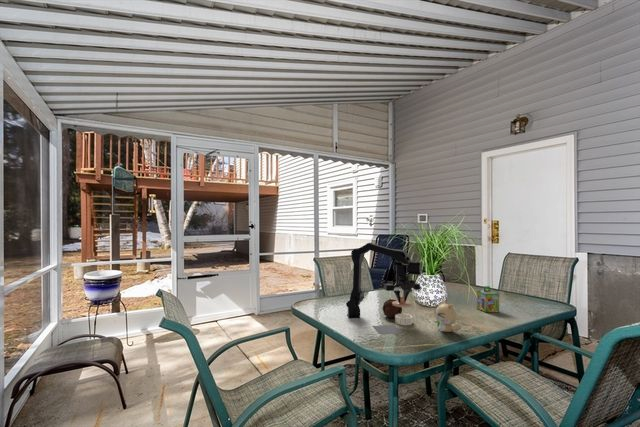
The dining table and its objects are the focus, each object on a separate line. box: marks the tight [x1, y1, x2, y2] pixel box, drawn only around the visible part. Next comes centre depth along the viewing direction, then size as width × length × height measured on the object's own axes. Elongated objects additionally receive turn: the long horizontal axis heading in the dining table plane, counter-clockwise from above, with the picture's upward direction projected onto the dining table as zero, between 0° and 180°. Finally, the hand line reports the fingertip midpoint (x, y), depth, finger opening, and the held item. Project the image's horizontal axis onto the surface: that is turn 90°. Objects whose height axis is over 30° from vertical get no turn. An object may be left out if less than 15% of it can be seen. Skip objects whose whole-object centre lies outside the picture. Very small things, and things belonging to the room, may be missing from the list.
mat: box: [372, 324, 404, 335], centre depth 159 cm, size 12×12×1 cm
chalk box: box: [476, 285, 500, 313], centre depth 193 cm, size 9×9×15 cm
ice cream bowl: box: [382, 299, 403, 319], centre depth 180 cm, size 11×11×15 cm
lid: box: [392, 295, 413, 308], centre depth 168 cm, size 10×10×4 cm
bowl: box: [394, 312, 414, 326], centre depth 170 cm, size 9×9×4 cm
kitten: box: [434, 298, 462, 333], centre depth 158 cm, size 15×10×15 cm, turn 4°
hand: (401, 302), depth 168 cm, fingers closed on lid, 3 cm apart
